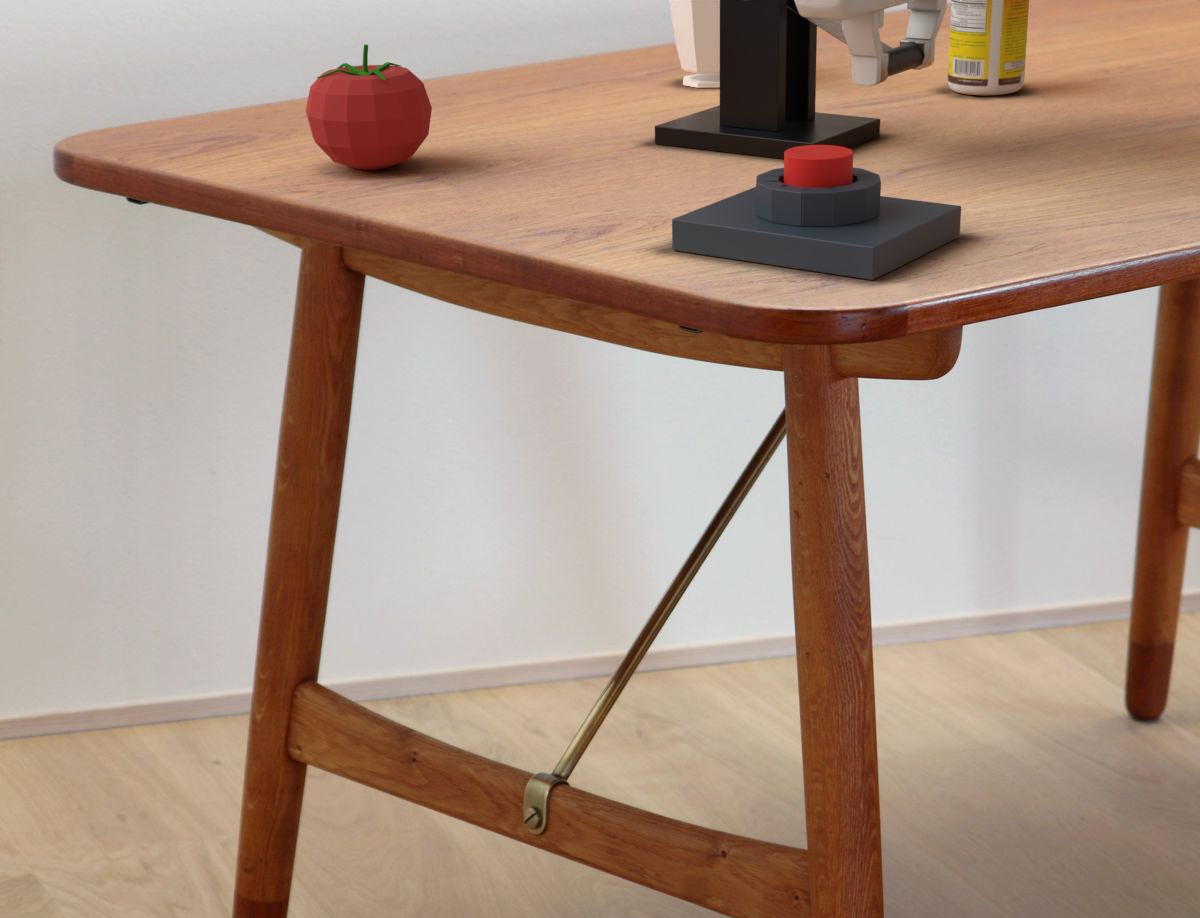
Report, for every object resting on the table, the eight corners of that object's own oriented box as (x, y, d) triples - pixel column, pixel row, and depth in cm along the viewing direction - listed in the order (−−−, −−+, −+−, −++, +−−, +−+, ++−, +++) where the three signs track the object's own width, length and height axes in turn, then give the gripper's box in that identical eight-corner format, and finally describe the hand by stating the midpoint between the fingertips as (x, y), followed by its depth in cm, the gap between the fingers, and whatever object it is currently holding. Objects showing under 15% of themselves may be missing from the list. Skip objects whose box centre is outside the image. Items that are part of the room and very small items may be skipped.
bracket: (880, 136, 128) (886, -50, 123) (813, 162, 121) (817, -34, 116) (725, 120, 134) (726, -58, 129) (654, 144, 128) (652, -43, 123)
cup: (648, 87, 146) (647, -23, 143) (704, 66, 154) (704, -39, 151) (733, 93, 143) (733, -20, 140) (785, 71, 151) (787, -36, 148)
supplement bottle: (1019, 83, 144) (1028, -61, 140) (1027, 97, 139) (1037, -52, 135) (943, 84, 145) (951, -59, 140) (949, 97, 140) (956, -51, 135)
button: (864, 182, 102) (865, 148, 101) (831, 195, 99) (832, 161, 99) (804, 174, 104) (805, 142, 103) (771, 188, 101) (771, 154, 101)
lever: (913, 78, 123) (929, 44, 121) (877, 91, 119) (893, 56, 118) (765, -15, 126) (778, -49, 125) (725, -6, 123) (738, -41, 121)
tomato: (332, 186, 118) (321, 58, 115) (294, 163, 125) (283, 41, 122) (453, 171, 121) (446, 46, 118) (410, 149, 128) (402, 30, 125)
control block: (960, 237, 103) (963, 171, 102) (873, 280, 96) (875, 211, 95) (767, 211, 110) (767, 149, 108) (671, 250, 102) (671, 184, 101)
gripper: (867, -148, 106) (859, 108, 112) (1021, -171, 121) (1007, 55, 127) (768, -150, 109) (765, 98, 115) (929, -172, 124) (920, 48, 130)
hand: (893, 75), depth 121 cm, fingers closed on lever, 5 cm apart
